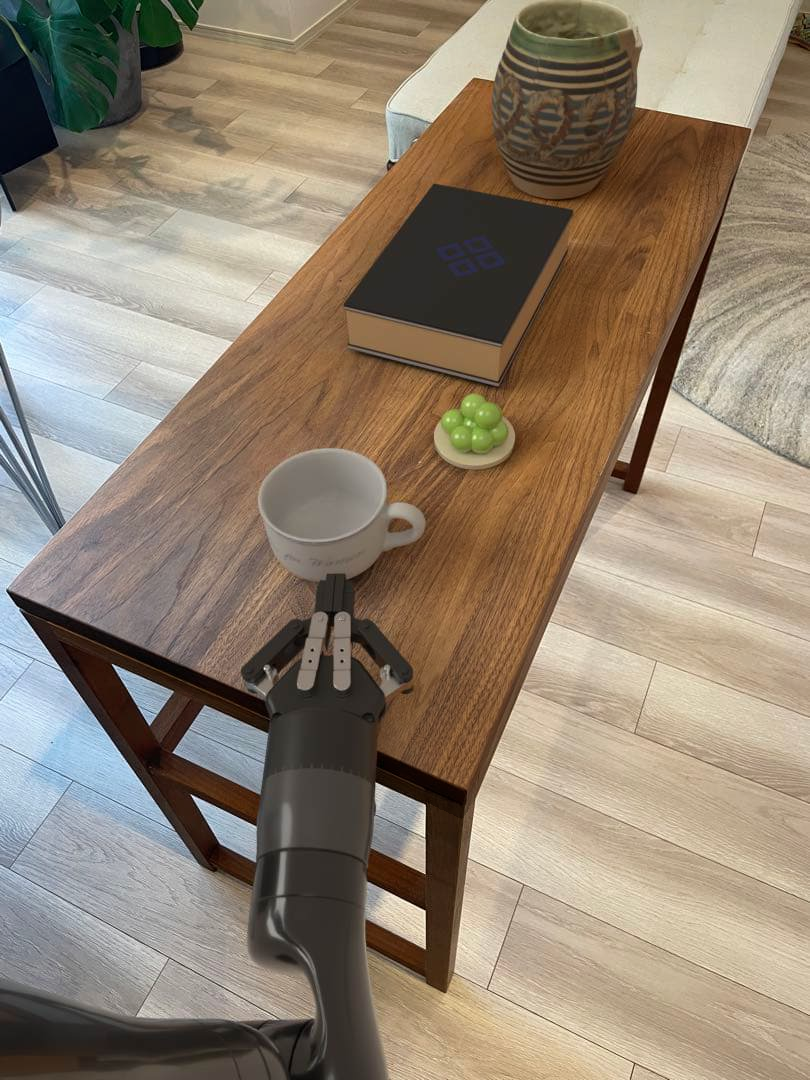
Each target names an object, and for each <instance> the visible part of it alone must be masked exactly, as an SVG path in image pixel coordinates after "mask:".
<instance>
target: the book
mask: <svg viewBox="0 0 810 1080" xmlns="http://www.w3.org/2000/svg"><path fill="white" fill-rule="evenodd" d="M574 212H575V211H574V209H571V208H565V207H561V206H555V205H550V204H545V203H540V202H534V201H529V200H524V199H519V198H513V197H508V196H503V195H498V194H492V193H488V192H487V193H486V192H482V191H477V190H471V189H465V188H460V187H455V186H451V185H444V184H439V183H435V182H434V183H432V185H431V186H430V188H429V189H428V190H427V191H426V193H425V194H424V195H423V197H422V198H421V199H420V201H419V202H418V204H416V206H415V208H414V209H413V210H412V211H411V212H410V214H409V215H408V217H407V218H406V220H404V222H403V224H402V225H401V226H400V227H399V229H397V231H396V233H395V234H394V236H393V237H392V238H391V240H390V241H389V243H388V244H387V245H386V246H385V248H384V249H383V250H382V252H381V253H380V254H379V256H378V257H377V258H376V260H375V261H374V262H373V264H372V265H371V267H370V268H369V269H368V271H366V273H365V274H364V276H363V277H362V278H361V280H360V281H359V283H358V284H357V285H356V286H355V288H354V289H353V290H352V292H351V293H350V294H349V296H348V297H347V298H346V300H345V301H344V303H343V304H342V307H343V310H344V311H345V319H346V329H347V338H348V343H347V349H348V350H352V351H356V352H359V353H363V354H368V355H372V356H374V357H379V358H383V359H387V360H391V361H395V362H398V363H403V364H406V365H409V366H410V365H411V366H415V367H417V368H418V367H419V368H423V369H426V370H430V371H434V372H438V373H441V374H446V375H449V376H453V377H457V378H462V379H465V380H469V381H473V382H477V383H481V384H484V385H488V386H493V387H496V388H500V386H501V384H502V382H503V380H504V378H505V376H506V374H507V373H508V370H509V369H510V367H511V365H512V363H513V361H514V359H515V358H516V355H517V354H518V351H519V349H521V346H522V344H523V342H524V340H525V338H526V336H527V334H528V332H529V330H530V329H531V326H532V324H533V322H534V321H535V319H536V317H537V315H538V313H539V311H540V309H541V308H542V306H543V304H544V302H545V300H546V297H547V296H548V294H549V292H550V290H551V288H552V286H553V285H554V282H555V281H556V278H557V276H558V275H559V273H560V271H561V269H562V267H563V266H564V263H565V261H566V259H567V257H568V255H569V250H568V244H569V236H570V228H571V221H572V218H573V217H574Z"/></svg>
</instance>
